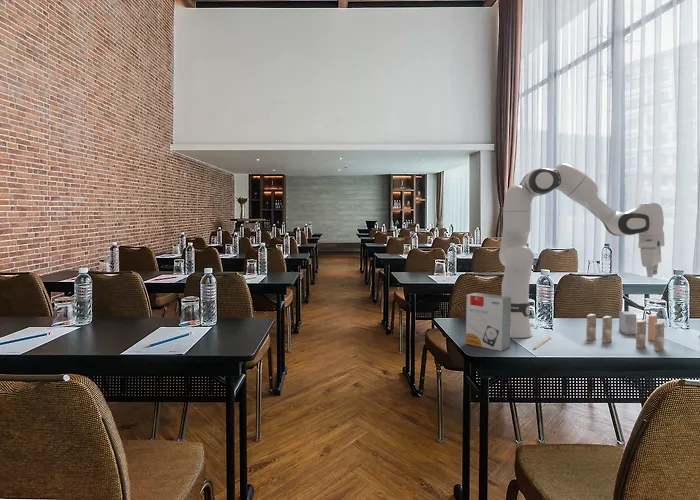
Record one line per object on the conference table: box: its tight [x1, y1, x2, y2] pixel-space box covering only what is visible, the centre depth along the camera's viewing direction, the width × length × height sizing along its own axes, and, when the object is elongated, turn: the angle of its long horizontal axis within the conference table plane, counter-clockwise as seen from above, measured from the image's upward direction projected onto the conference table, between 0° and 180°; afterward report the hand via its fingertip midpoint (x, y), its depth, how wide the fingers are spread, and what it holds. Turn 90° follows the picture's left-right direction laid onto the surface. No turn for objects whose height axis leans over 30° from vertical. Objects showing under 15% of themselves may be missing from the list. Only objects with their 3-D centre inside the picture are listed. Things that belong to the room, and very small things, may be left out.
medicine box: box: [618, 310, 637, 335], centre depth 206 cm, size 8×4×9 cm, turn 168°
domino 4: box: [647, 313, 658, 342], centre depth 193 cm, size 2×5×10 cm, turn 135°
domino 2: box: [601, 315, 613, 343], centre depth 190 cm, size 2×5×10 cm, turn 135°
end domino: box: [653, 321, 665, 352], centre depth 177 cm, size 2×5×10 cm, turn 135°
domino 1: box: [585, 313, 597, 341], centre depth 194 cm, size 2×5×10 cm, turn 135°
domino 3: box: [635, 319, 647, 349], centre depth 182 cm, size 2×5×10 cm, turn 135°
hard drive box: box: [465, 292, 511, 352], centre depth 183 cm, size 16×8×20 cm, turn 46°
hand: (652, 275), depth 193 cm, fingers open, 8 cm apart
